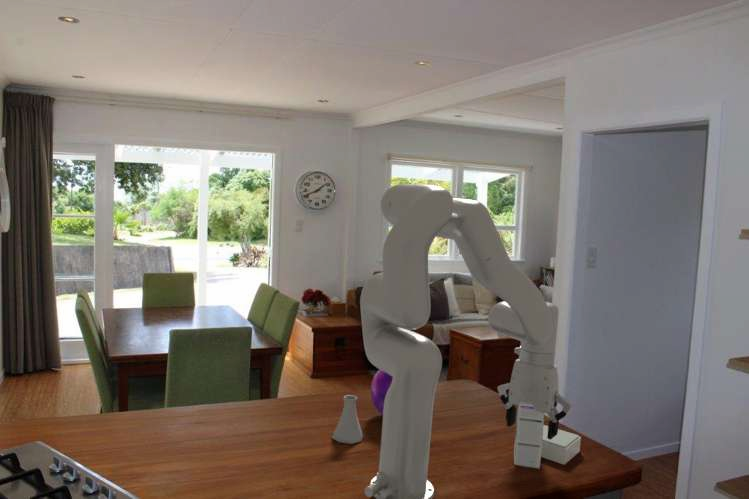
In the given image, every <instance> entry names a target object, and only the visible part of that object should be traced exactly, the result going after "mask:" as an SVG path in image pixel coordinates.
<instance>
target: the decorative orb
mask: <svg viewBox="0 0 749 499" xmlns="http://www.w3.org/2000/svg"><path fill="white" fill-rule="evenodd" d="M392 379H393V377H392V376H390V375H389V374H387V373H386V372H384V371H382V370H380V369H378V370H377V372H376V374H375V375H374V376H373V378H372V380H371V385H370V397H371V400H372V404H373V405H374V407H375V409H376V410H377V411H378V413H380V414H381V415H382V416H383V408H384V400H385V396H386V393H387V391H388V389H389V387H390V385H391V383H392Z"/></svg>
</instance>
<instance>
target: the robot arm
mask: <svg viewBox="0 0 749 499" xmlns="http://www.w3.org/2000/svg"><path fill="white" fill-rule="evenodd" d="M380 210H381V213H382V215H383V217H384V219H385V220H386V221H387V222H389V224H391V225H392V227H391V229H390V230H389V232H388V233H387V235H386V238H385V240H384V243H383V247H382V256H381V257H382V258H381V260H382V272H378V273H375V274H373V275H372V276H370V277H369V278H368V279H367V280H366V282H365V283H364V284H363V287H362V289H361V294H360V298H359V306H360V309H359V310H360V316H361V320H360V321H361V329H362V338H363V339H362V340H363V346H364V352H365V356H366V357H367V360H368V361H369V363H371V364H372V366H374V367H375V368H376V369H378V370H382V371H384V372H386V373H387V374H389V375H390V376H392V377H393V379H392V383H391V385H390V387H389V389H388V391H387V393H386V396H385V400H384V408H383V415H382V425H381V426H382V427H381V439H380V450H379V452H380V453H379V462H378V464H379V465H378V472H377V473H376V476H373V478H372V479H371V480H370V482H369V485H368V486H366V487H365V488H364V493H365V496H366V497H367V498H372V497H373V498H374V499H434V495H435V488H434V486H433V484H432V483H431V482H430V481H429V480H428V471H429V459H430V448H431V447H430V446H431V436H432V426H433V425H432V424H433V413H434V412H433V411H434V402H435V394H436V388H437V385H438V381H439V378H440V374H441V372H442V366H443V358H442V357H443V355H442V353H441V351H440V349H439V347H438V346H437V344H435V342H434V341H433V340H431V339H430V338H428V337H427V336H425V335H423V334H420V333H418V332H415V331H412V330H418V329H420V328H422V327H424V326H425V325H426V324H427V322H428V321H429V318H430V316H431V309H432V308H431V307H432V305H431V304H432V302H431V291H430V290H431V288H430V278H429V275H430V274H429V252H430V249H431V246H432V244H433V242H434V240H435V238H436V237H437V238H441V239H447V240H453V242H454V243H455V244H456V247H457V249H458V250H459V253H460V254H461V257H462V258H463V261H464V263H465V266H466V267H467V269H468V271H469V274H470V276H471V277H472V279H473V280H475V281H476V283H478V284H479V285H480V286H482V287H483V288H484V289H486V290H487V291H489V292H491V293H492V294H494V295H495V296H497V297H498V298H500V300H502V301H500V302H497V303H495V304H494V305H493V306H492V307H491V308H490V309H489V312H488V314H487V321H488V325H489V327H490V328H491V330H493V331H494V332H495V333H497V334H499V335H502V336H504V337H507V338H509V339H514V340H517V341H520V345H519V347H515V348H514V349H513V350H514V354H517V355H518V358H517V359H515V361H514V364H513V368H512V372H511V377H510V382H507V383H504V384H500V385H498V386H497V392H498V394H499V399H500V401H502V404H503V405H504V409H506V410H505V411H506V412H505V421H506V427H508V428H510V427H512V426H514V425H516V421H517V407H518V405H519V402H520V401H523V402H529V403H532V405H533V409H534V410H536V411H538V412H542V413H544V414H546V413H547V416H548V417H549V419H550V420H549V421H548V425H547V426H548V436H547V438H548V439H550V440H551V439H552V438H553V437H555V436H556V435H557V433H558V429H559V424H560V422H559V421H560V420H562V419H563V418H565V417H566V416H567V415H568V413H569V412H570V411H571V410H572V408H573V404H572V403H571V402H570V401H569V400H567V399H566V398H565V397H564V396H563V395H561V394H560V393H559V375H558V374H559V373H558V368H557V367H558V365H556V364H555V359H556V358H555V357H556V349H557V348H556V346H557V336H558V335H557V334H558V324H559V314H560V313H559V308H558V305H556V304H555V303H552V302H549V301H546V299H545V297H544V296H543V294H542V291H541V290H540V289H539V288H538V287H537V285H536V284H535V283H534V281H532V280H531V279H530V278H529V277H528V276H527V275H526V273H525V272H523V270H522V269H521V268H519V266H518V265H516V264H515V263H514V262H513V261H512V259H511V258H510V256H509V254H508V252H507V249H506V247H505V245H504V243H503V241H502V239H501V236H500V234H499V232H498V229H497V227H496V224H495V222H494V221H493V218H492V215H491V214H490V212H489V209H488V208H487V207H486V206H485V204H483V203H482V202H480V201H477V200H474V199H468V198H457V197H455V198H454V197H453V195H452V194H451V193H450V191H449V190H447V189H445V188H444V187H441V186H438V185H433V184H413V183H412V184H411V183H398V184H395V185H392V186H391V187H389V188H387V190H386V191H385V192H384V193H383V195H382V197H381V200H380ZM507 390H508V393H507ZM558 404H559V405H560V406H562V409H561V411H560V412H559V411H558V409H557V407H558Z"/></svg>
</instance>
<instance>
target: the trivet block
mask: <svg viewBox="0 0 749 499" xmlns="http://www.w3.org/2000/svg"><path fill="white" fill-rule="evenodd" d="M547 436H548V425H545V424H544V425H543V438H542V450H541V458H543V459H546V460H550V461H553V462H555V463H558V464H561V465H563V466H564V465H566V464H568V462H570V460H572V459H573V458H574V457H575V456H576V455H578V454H579V452H580V451H581V440H582V436H580V435H578V434H575V433H572V432H570V431H569V432H568V431H565V430H562V429H559V428H558V433H557V435H556V436H555V437H553V438H552V439H551V440H550V439H548V438H547Z"/></svg>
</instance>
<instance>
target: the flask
mask: <svg viewBox="0 0 749 499" xmlns="http://www.w3.org/2000/svg"><path fill="white" fill-rule="evenodd" d="M357 400H358V396H356V395H354V394H353V395H352V394H347V395H344V396H343V401H344V404H343V409H342V413H341V416H340V418H339V420H338V423H337V425H336V427H335V430H334V432H333V433H332V436H331V439H332V440H335V441H336V442H338V443H342V444H349V445H353V444H356V443H360V442H361V441H362V440H363V438H364V434H363V431H362V427H361V424H360V422H359V418H358V413H357Z"/></svg>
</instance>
